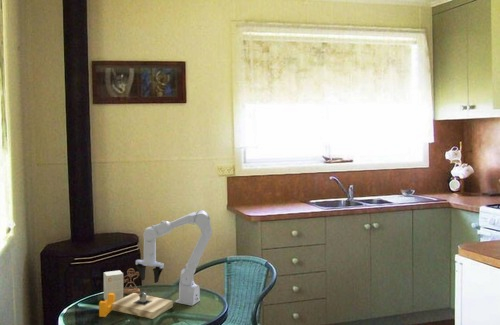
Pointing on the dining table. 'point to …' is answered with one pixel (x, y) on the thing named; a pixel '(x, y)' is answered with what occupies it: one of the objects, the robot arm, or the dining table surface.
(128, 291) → the brown openwork frame
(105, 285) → the small box
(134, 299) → the block
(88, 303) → the dining table surface
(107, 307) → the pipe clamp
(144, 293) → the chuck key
